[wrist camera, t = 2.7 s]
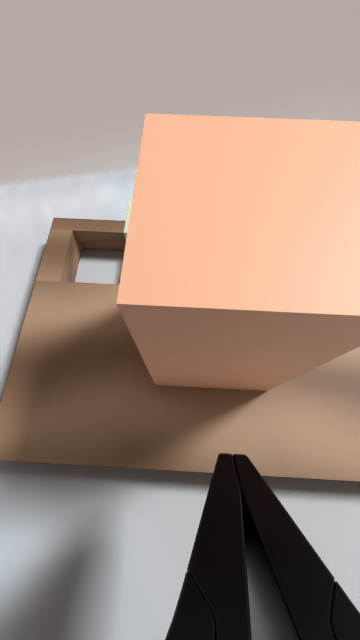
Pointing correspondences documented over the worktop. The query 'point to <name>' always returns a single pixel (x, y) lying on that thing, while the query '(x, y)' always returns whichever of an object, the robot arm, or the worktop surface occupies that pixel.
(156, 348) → the terracotta block
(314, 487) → the worktop surface
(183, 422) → the walnut board
